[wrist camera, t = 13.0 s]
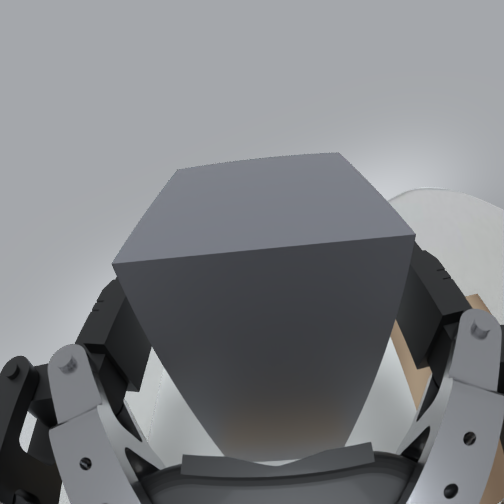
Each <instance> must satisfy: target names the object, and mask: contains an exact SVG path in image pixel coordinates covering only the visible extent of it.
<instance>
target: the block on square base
mask: <svg viewBox="0 0 504 504" xmlns="http://www.w3.org/2000/svg"><path fill="white" fill-rule="evenodd" d="M415 236H416V234H415V233H414V231H413V230H412V229H411V228H410V227H409V226H408V224H407V223H406V222H405V221H404V220H403V219H402V217H401V216H400V215H399V214H398V213H397V212H396V211H395V209H394V208H393V207H392V206H391V205H390V204H389V203H388V202H387V201H386V200H385V199H384V198H383V196H382V195H381V194H380V193H379V192H378V191H377V190H376V189H375V188H374V187H373V186H372V185H371V184H370V183H369V182H368V181H367V180H366V179H365V178H364V177H363V176H362V175H361V174H360V173H359V172H358V171H357V170H356V169H355V168H354V167H353V166H352V165H351V164H350V163H349V162H348V161H347V160H346V159H345V158H344V157H343V156H342V155H341V154H340V153H320V154H304V155H291V156H279V157H269V158H259V159H250V160H241V161H233V162H225V163H218V164H211V165H204V166H197V167H191V168H185V169H179V170H177V171H176V172H175V174H174V175H173V176H172V177H171V179H170V180H169V181H168V183H167V184H166V185H165V187H164V188H163V189H162V191H161V192H160V193H159V195H158V196H157V197H156V199H155V200H154V202H153V203H152V204H151V206H150V207H149V208H148V210H147V211H146V213H145V214H144V216H143V217H142V218H141V220H140V221H139V223H138V224H137V226H136V227H135V229H134V230H133V232H132V233H131V235H130V236H129V237H128V239H127V240H126V242H125V244H124V245H123V247H122V248H121V250H120V251H119V253H118V254H117V256H116V257H115V259H114V261H113V262H112V266H113V268H114V271H115V273H116V275H117V277H118V280H119V282H120V284H121V286H122V288H123V290H124V293H125V295H126V297H127V299H128V301H129V303H130V305H131V307H132V309H133V311H134V313H135V315H136V317H137V319H138V321H139V323H140V325H141V327H142V329H143V331H144V332H145V334H146V336H147V338H148V340H149V342H150V343H151V345H152V347H153V349H154V351H155V352H156V354H157V356H158V358H159V359H160V361H161V363H162V365H163V366H164V369H163V373H162V377H161V382H160V386H159V390H158V395H157V399H156V404H155V409H154V413H153V418H152V423H151V428H150V433H149V438H148V444H149V446H150V447H151V449H152V450H153V451H154V452H155V453H156V455H157V456H158V457H159V458H160V459H161V461H162V462H163V463H164V465H165V466H166V468H167V467H170V466H174V465H178V464H182V456H183V454H185V455H199V456H225V457H231V458H236V459H240V460H244V461H249V462H254V463H259V464H264V465H270V466H280V465H284V464H287V463H290V462H294V461H297V460H300V459H303V458H305V457H308V456H311V455H314V454H317V453H319V452H322V451H325V450H329V449H336V448H342V447H347V446H352V445H357V444H362V443H367V442H371V443H372V448H373V451H382V452H389V453H393V454H395V453H396V451H397V449H398V447H399V445H400V444H401V442H402V440H403V439H404V437H405V435H406V434H407V432H408V430H409V429H410V427H411V424H412V422H413V420H414V417H415V415H416V412H417V410H416V407H415V404H414V401H413V398H412V395H411V392H410V389H409V386H408V383H407V380H406V377H405V375H404V372H403V369H402V366H401V363H400V361H399V358H398V355H397V353H396V350H395V347H394V345H393V342H392V340H391V337H390V335H391V332H392V329H393V326H394V323H395V319H396V316H397V313H398V309H399V305H400V302H401V298H402V294H403V291H404V287H405V283H406V279H407V274H408V270H409V266H410V261H411V256H412V252H413V247H414V242H415Z"/></svg>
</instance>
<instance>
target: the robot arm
mask: <svg viewBox="0 0 504 504" xmlns="http://www.w3.org/2000/svg"><path fill="white" fill-rule="evenodd" d="M396 321H397V323H398V325H399V328H400V330H401V332H402V334H403V337H404V339H405V341H406V344H407V346H408V349H409V351H410V353H411V356H412V358H413V361H414V363H415V366H416V368H417V370H418V369H422V368H425V367H430V369H431V372H432V373H431V374H430V376H429V379H428V382H427V385H426V388H425V391H424V393H423V396H422V399H421V402H420V404H419V407H418V410H417V412H416V415H415V417H414V420H413V422H412V424H411V427H410V429H409V430H408V432H407V434H406V435H405V437H404V439H403V440H402V442H401V444H400V445H399V447H398V449H397V451H396V453H395V454H393V453H389V452H382V451H373V448H372V443H371V442H367V443H362V444H357V445H352V446H347V447H342V448H336V449H329V450H325V451H322V452H319V453H317V454H314V455H311V456H308V457H305V458H303V459H300V460H297V461H294V462H290V463H287V464H284V465H280V466H270V465H264V464H259V463H254V462H249V461H244V460H240V459H236V458H231V457H225V456H199V455H185V454H183V456H182V464H178V465H174V466H170V467H167V468H166V466H165V465H164V463H163V462H162V461H161V459H160V458H159V457H158V456H157V455H156V453H155V452H154V451H153V450H152V449H151V447H150V446H149V444H148V442H147V441H146V439H145V437H144V435H143V433H142V431H141V429H140V427H139V426H138V424H137V422H136V420H135V418H134V416H133V414H132V412H131V409H130V407H129V405H128V403H127V402H126V400H125V399H124V397H125V393H126V391H134V392H139V391H140V387H141V383H142V379H143V376H144V372H145V368H146V365H147V361H148V358H149V354H150V351H151V347H152V345H151V343H150V342H149V340H148V338H147V336H146V334H145V332H144V331H143V329H142V327H141V325H140V323H139V321H138V319H137V317H136V315H135V313H134V311H133V309H132V307H131V305H130V303H129V301H128V299H127V297H126V295H125V293H124V290H123V288H122V286H121V284H120V282H119V280H118V277H116V279H115V280H112V281H111V282H110V283H109V284H108V285H107V286H106V287H105V288H104V289H103V290H102V292H101V294H100V296H99V298H98V299H97V303H95V305H94V307H93V309H92V312H91V313H90V314H89V316H88V318H87V320H86V322H85V324H84V326H83V328H82V330H81V332H80V334H79V336H78V338H77V340H76V342H75V344H70V345H66V346H64V347H62V348H60V349H59V350H58V351H57V352H56V353H55V354H54V355H53V356H52V358H51V359H50V361H49V364H44V365H40V366H33V365H32V364H31V363H30V362H29V361H28V359H27V358H26V357H24V356H17V357H14V358H12V359H11V360H10V361H8V362H7V363H6V365H5V366H4V367H3V369H2V371H1V373H0V504H59V497H60V491H61V485H62V482H63V485H64V487H65V490H66V493H67V495H68V498H69V501H70V503H71V504H479V503H480V500H481V498H482V495H483V493H484V490H485V487H486V484H487V481H488V478H489V475H490V472H491V468H492V465H493V462H494V458H495V454H496V450H497V446H498V442H499V438H500V441H501V445H502V449H503V453H504V325H500V324H499V323H498V321H497V320H496V318H495V317H494V316H493V315H491V314H490V313H488V312H487V311H484V310H481V309H473V308H472V306H471V305H470V303H469V302H468V300H467V299H466V298H465V296H464V295H463V293H462V292H461V290H460V289H459V287H458V286H457V285H456V283H455V282H454V280H453V279H451V276H450V275H449V274H448V272H447V271H445V268H444V267H443V266H442V264H441V263H440V262H439V260H438V259H437V258H436V257H434V256H433V255H431V254H430V253H428V252H427V251H426V250H424V251H422V250H421V248H420V247H419V246H418V245H417V243H416V242H414V247H413V252H412V256H411V261H410V266H409V270H408V274H407V279H406V283H405V287H404V291H403V294H402V298H401V302H400V305H399V309H398V313H397V316H396ZM27 411H28V412H29V413H31V414H32V415H33V416H34V417H35V418H37V421H36V424H35V428H34V431H33V434H32V438H31V441H30V445H29V449H28V452H27V453H26V452H25V451H23V449H22V448H21V446H20V443H19V437H20V433H21V430H22V427H23V423H24V420H25V417H26V414H27ZM501 504H504V498H503V499H502V502H501Z"/></svg>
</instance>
